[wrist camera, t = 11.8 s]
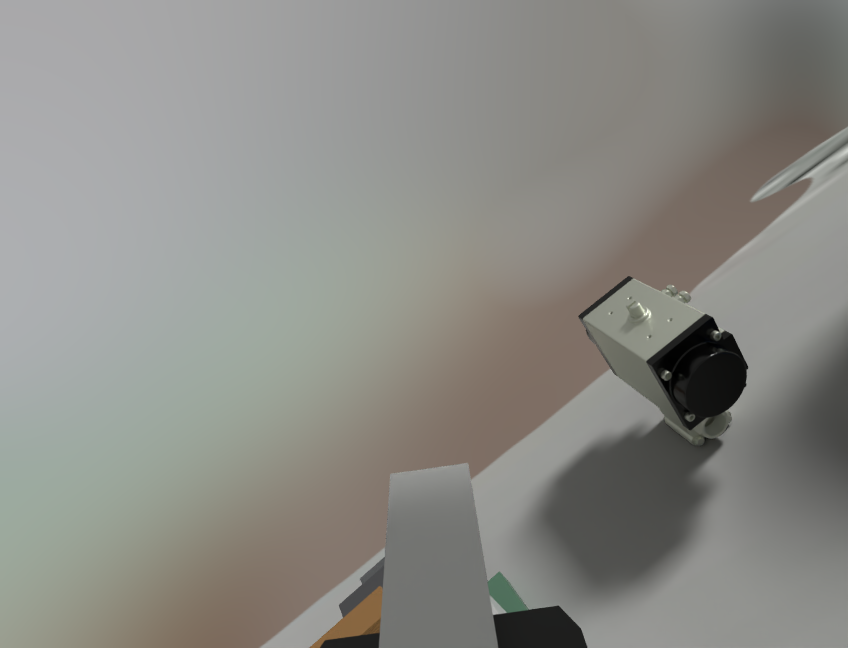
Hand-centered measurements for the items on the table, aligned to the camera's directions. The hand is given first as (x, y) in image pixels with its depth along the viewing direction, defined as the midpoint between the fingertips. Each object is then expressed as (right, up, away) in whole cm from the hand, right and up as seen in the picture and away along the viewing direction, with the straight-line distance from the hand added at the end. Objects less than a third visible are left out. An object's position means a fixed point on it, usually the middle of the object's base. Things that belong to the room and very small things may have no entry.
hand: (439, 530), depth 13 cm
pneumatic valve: (+20, -3, +36) cm, 41 cm away
